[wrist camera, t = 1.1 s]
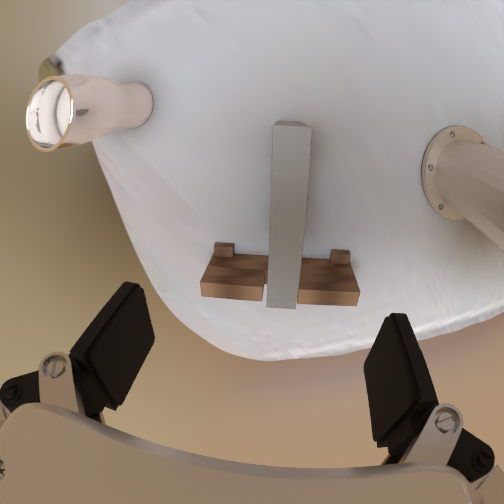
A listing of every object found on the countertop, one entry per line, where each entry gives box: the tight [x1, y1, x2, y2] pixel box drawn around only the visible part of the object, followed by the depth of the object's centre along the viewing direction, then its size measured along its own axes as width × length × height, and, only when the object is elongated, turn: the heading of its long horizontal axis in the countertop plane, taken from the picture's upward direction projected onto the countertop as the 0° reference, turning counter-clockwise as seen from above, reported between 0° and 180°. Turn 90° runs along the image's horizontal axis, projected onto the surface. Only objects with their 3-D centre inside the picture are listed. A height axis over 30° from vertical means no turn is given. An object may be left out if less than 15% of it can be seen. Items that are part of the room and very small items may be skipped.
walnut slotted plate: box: [200, 243, 360, 306], centre depth 33 cm, size 18×5×7 cm, turn 89°
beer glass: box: [26, 74, 153, 152], centre depth 22 cm, size 7×7×15 cm
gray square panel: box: [266, 121, 312, 309], centre depth 25 cm, size 2×14×14 cm, turn 0°
